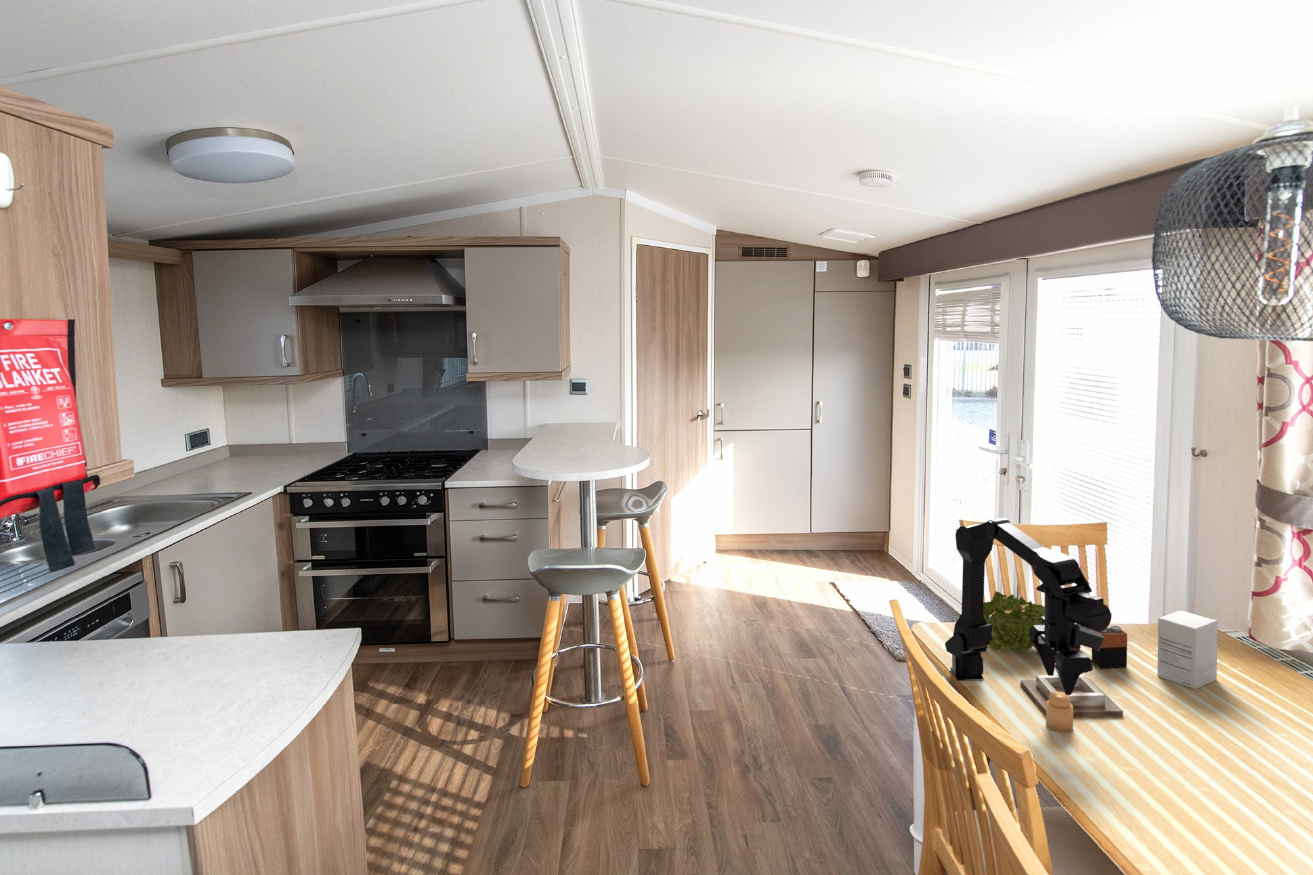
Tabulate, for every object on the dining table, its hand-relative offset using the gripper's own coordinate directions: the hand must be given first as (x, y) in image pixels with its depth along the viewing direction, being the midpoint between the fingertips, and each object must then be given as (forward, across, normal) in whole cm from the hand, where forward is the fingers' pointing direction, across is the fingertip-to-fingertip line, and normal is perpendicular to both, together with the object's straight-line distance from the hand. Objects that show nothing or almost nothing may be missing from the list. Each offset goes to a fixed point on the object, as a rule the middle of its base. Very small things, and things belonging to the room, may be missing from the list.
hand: (1059, 684), depth 167 cm
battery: (+10, +30, -24) cm, 40 cm away
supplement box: (+10, +22, -38) cm, 45 cm away
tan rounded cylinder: (+10, 0, 0) cm, 10 cm away
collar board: (+10, +12, -7) cm, 17 cm away
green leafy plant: (+10, +41, -4) cm, 42 cm away
